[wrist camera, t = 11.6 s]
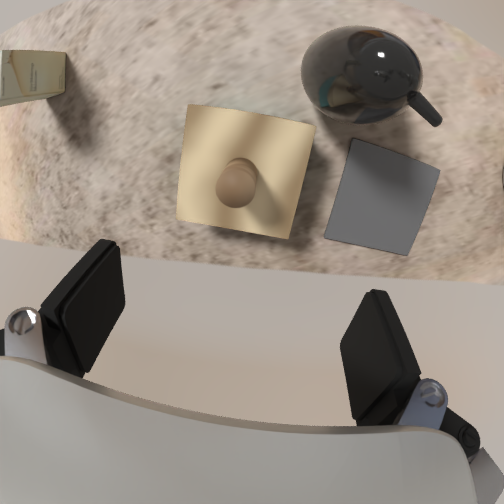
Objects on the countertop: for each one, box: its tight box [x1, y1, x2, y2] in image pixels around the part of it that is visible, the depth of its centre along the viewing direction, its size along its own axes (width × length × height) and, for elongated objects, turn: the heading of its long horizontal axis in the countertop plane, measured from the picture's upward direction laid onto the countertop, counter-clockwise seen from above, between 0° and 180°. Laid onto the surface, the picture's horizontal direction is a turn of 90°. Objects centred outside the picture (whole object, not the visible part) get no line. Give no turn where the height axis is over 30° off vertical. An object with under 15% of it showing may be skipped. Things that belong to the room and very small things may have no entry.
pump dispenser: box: [301, 26, 443, 127], centre depth 19 cm, size 10×10×15 cm
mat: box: [324, 138, 440, 256], centre depth 33 cm, size 13×13×1 cm
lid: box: [176, 104, 316, 239], centre depth 25 cm, size 12×12×6 cm
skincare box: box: [0, 50, 66, 107], centre depth 20 cm, size 6×4×12 cm
